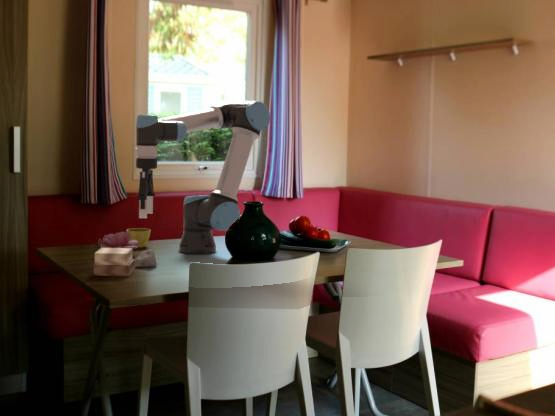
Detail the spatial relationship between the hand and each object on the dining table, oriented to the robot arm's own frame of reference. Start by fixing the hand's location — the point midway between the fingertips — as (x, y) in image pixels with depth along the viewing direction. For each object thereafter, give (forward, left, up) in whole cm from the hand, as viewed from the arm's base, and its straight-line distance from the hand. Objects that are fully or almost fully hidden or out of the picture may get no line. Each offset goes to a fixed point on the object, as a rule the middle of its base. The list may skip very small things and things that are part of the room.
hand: (146, 215), depth 265 cm
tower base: (+9, +13, -19) cm, 24 cm away
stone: (-1, 0, -19) cm, 19 cm away
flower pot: (+9, -39, -19) cm, 44 cm away
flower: (+13, -16, -19) cm, 28 cm away
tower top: (+9, +13, -15) cm, 22 cm away
